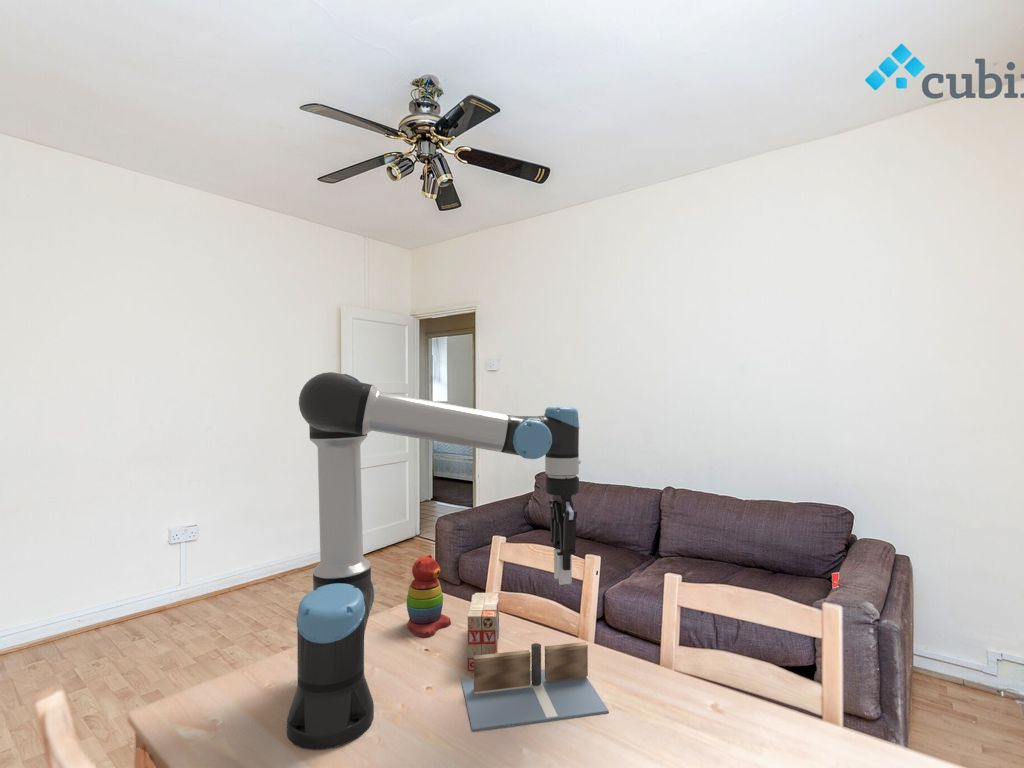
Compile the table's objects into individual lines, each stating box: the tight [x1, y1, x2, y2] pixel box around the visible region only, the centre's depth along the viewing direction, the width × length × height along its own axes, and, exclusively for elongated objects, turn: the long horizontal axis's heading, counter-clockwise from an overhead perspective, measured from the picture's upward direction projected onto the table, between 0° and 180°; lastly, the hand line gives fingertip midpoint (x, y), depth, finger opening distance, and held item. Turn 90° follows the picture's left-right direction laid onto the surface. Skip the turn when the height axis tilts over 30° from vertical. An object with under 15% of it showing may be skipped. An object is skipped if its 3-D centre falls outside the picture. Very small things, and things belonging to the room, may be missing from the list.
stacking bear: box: [406, 554, 452, 638], centre depth 138 cm, size 11×10×18 cm
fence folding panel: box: [544, 641, 589, 681], centre depth 111 cm, size 9×1×7 cm, turn 102°
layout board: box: [460, 668, 610, 732], centre depth 106 cm, size 26×17×1 cm, turn 102°
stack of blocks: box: [467, 592, 500, 672], centre depth 126 cm, size 21×6×12 cm, turn 179°
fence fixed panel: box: [473, 642, 542, 692], centre depth 108 cm, size 14×2×8 cm, turn 102°
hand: (562, 580), depth 118 cm, fingers open, 3 cm apart
